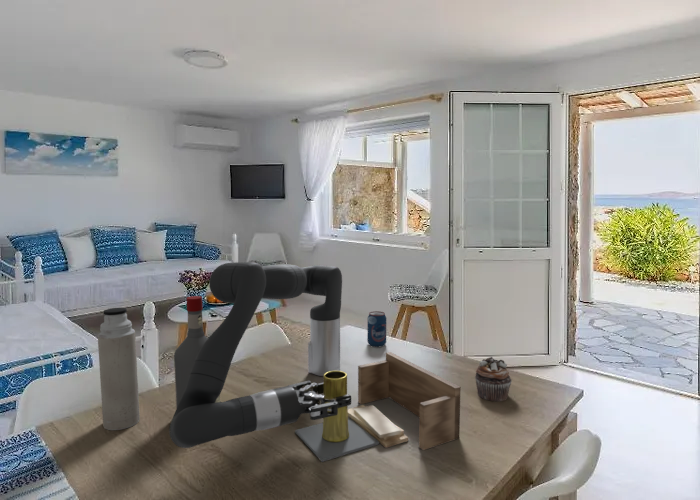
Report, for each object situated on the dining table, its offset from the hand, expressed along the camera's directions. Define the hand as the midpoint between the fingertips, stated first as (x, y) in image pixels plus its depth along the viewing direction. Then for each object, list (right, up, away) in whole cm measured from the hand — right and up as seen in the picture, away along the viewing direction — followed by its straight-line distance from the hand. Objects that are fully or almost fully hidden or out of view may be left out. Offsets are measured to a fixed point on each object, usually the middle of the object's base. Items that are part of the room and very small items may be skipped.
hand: (341, 392), depth 106 cm
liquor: (-36, -10, +12) cm, 39 cm away
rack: (+12, -10, +8) cm, 18 cm away
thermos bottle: (-53, -10, +8) cm, 55 cm away
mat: (-1, -11, +1) cm, 11 cm away
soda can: (+12, -3, +68) cm, 69 cm away
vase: (-1, -10, 0) cm, 10 cm away
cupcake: (+41, -8, +24) cm, 48 cm away
